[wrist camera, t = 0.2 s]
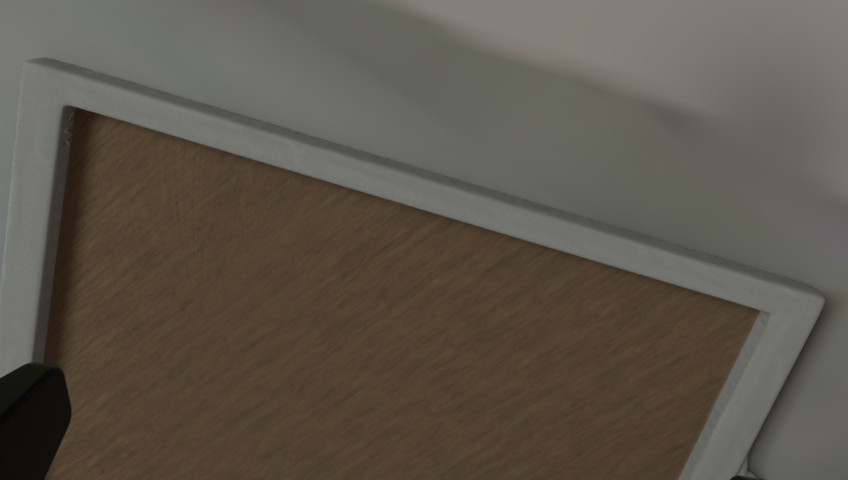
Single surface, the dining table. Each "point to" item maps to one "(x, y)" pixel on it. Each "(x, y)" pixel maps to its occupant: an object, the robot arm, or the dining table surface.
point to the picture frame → (358, 311)
